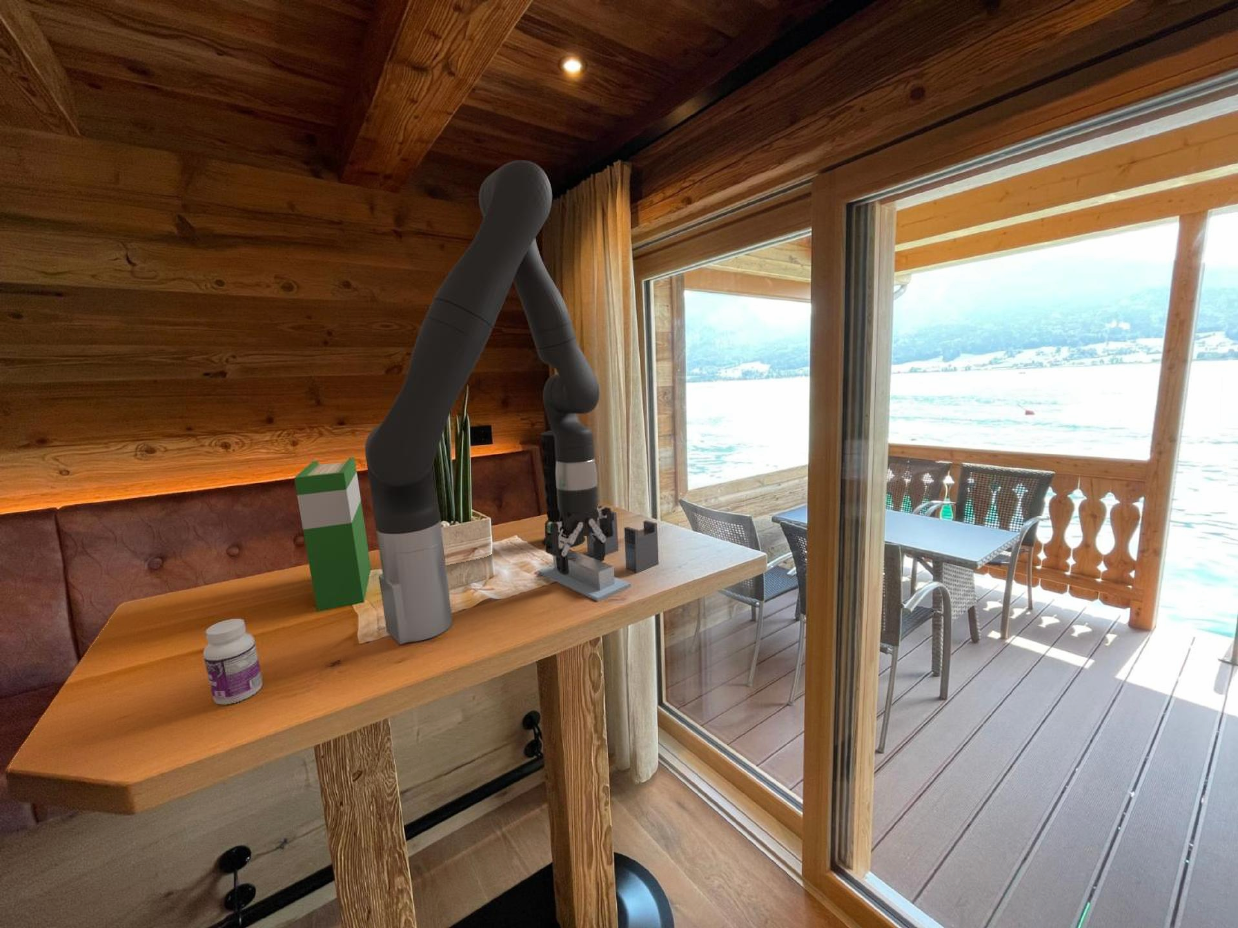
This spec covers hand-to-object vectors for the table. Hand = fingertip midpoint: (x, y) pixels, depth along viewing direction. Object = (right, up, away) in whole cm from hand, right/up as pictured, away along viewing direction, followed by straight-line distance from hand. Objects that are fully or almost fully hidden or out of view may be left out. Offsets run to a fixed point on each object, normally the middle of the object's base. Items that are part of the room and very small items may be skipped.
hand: (582, 566), depth 97 cm
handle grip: (-6, +1, +23) cm, 24 cm away
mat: (0, -3, +1) cm, 3 cm away
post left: (+4, 0, +14) cm, 15 cm away
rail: (0, -2, 0) cm, 2 cm away
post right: (+12, -1, +5) cm, 13 cm away
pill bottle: (-43, -11, -30) cm, 53 cm away
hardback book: (-46, -5, +2) cm, 46 cm away
